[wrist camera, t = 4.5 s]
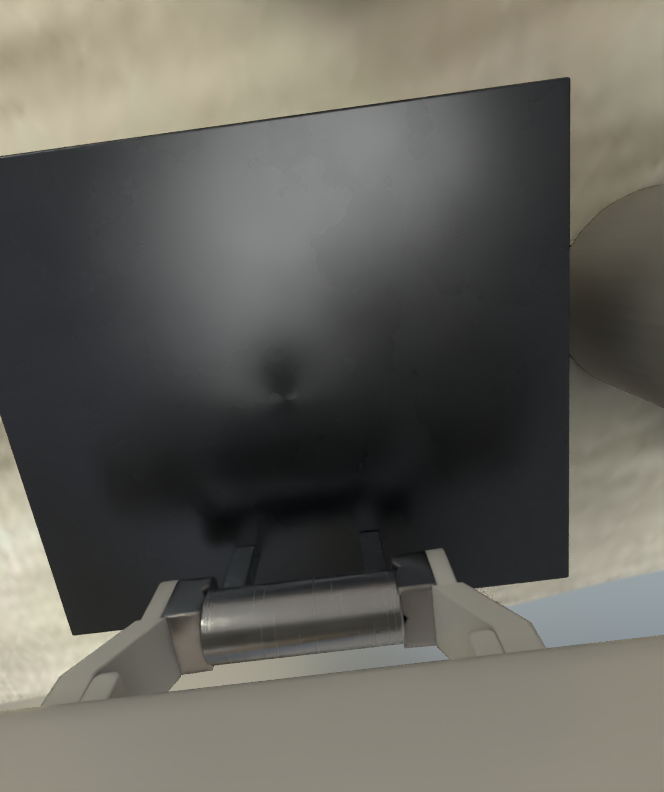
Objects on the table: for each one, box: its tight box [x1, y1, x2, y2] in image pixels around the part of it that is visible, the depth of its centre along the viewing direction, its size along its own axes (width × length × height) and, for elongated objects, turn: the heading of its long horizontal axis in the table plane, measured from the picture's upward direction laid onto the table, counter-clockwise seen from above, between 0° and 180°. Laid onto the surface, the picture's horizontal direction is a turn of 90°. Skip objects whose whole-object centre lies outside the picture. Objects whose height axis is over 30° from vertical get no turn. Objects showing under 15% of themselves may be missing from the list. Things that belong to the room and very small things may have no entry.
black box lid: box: [0, 77, 570, 666], centre depth 13 cm, size 15×17×5 cm
